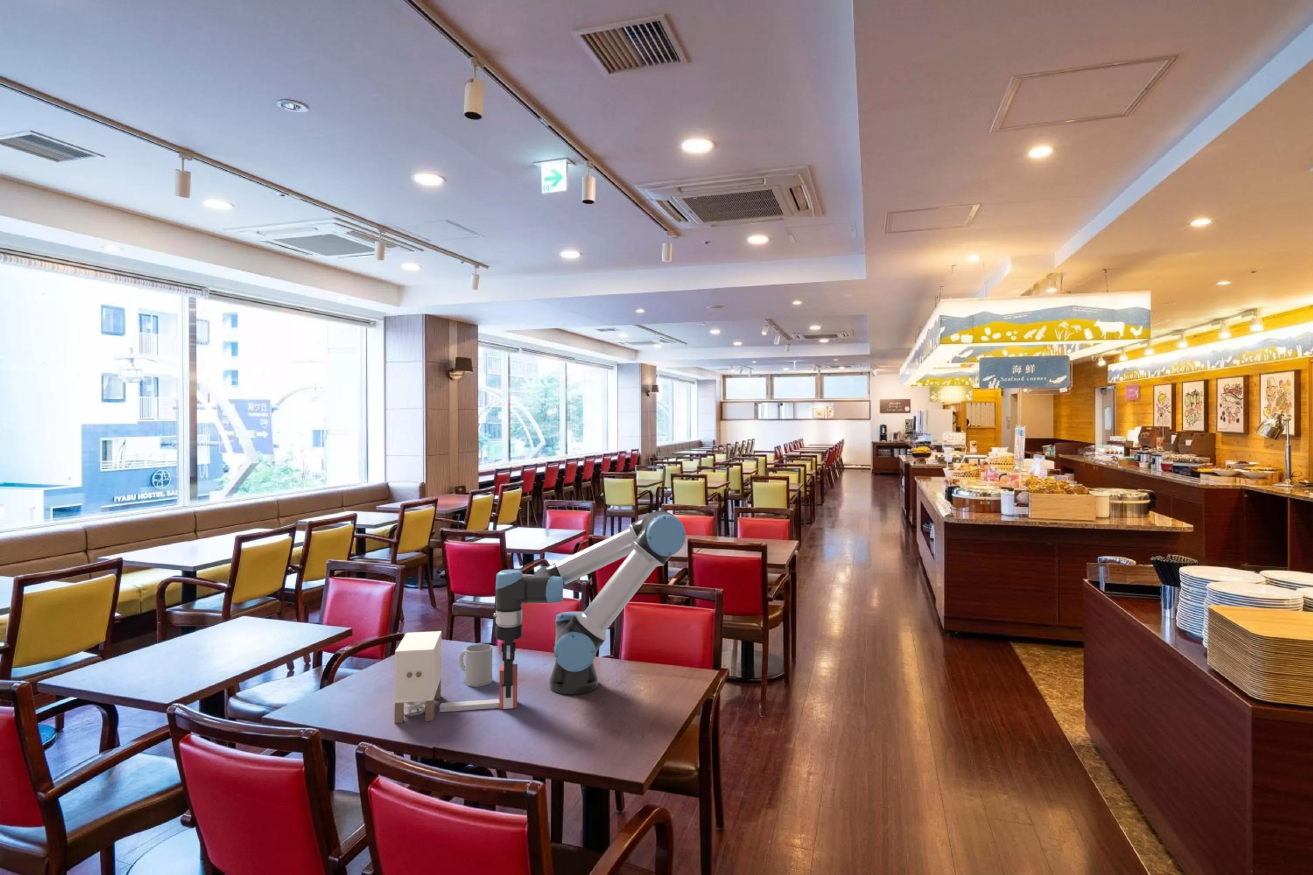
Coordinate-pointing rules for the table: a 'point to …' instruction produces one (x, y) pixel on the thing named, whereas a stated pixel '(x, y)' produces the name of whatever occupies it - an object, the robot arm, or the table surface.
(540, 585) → the robot arm
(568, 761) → the table surface
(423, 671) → the cabinet
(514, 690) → the red mallet
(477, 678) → the mug
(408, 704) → the token
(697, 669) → the table surface
